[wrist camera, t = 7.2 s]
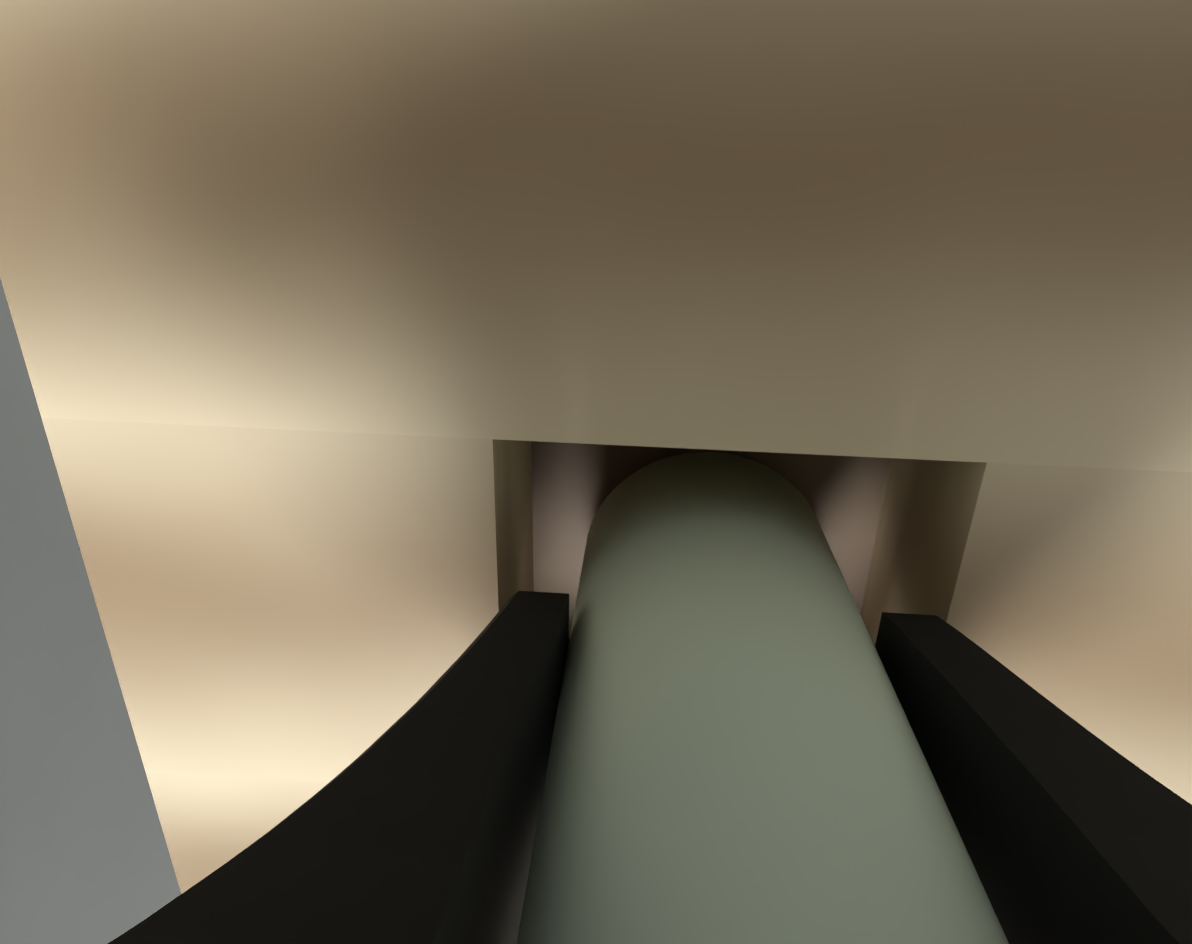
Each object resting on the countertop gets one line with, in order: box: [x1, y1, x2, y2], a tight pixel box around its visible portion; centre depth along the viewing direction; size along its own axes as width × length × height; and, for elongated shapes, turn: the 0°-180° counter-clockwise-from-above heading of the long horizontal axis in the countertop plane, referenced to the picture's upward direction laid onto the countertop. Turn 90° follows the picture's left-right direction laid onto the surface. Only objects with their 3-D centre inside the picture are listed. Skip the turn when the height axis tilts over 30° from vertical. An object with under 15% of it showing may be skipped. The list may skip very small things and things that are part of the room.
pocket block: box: [0, 0, 1192, 894], centre depth 11 cm, size 16×16×3 cm
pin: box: [516, 452, 1009, 944], centre depth 8 cm, size 4×4×8 cm
